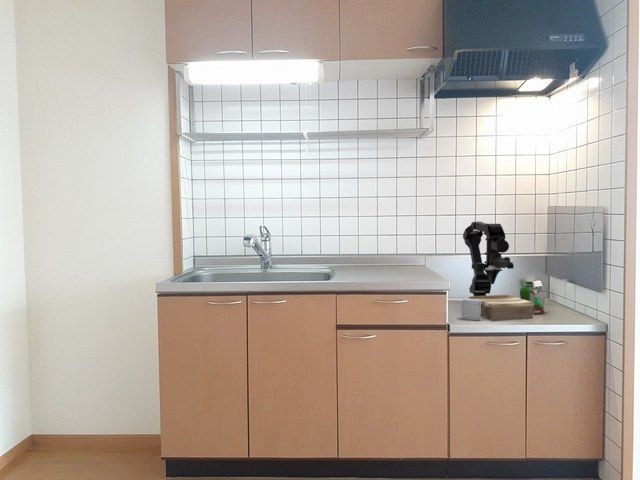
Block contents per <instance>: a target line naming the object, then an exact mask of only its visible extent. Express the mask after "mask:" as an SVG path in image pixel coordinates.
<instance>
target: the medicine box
mask: <svg viewBox="0 0 640 480" xmlns="http://www.w3.org/2000/svg"><path fill="white" fill-rule="evenodd" d="M481 318H482V316H481V300H480V299H469V298H462V300H461V320H462V321H463V320H464V321H466V320H467V321H481V320H482V319H481Z"/></svg>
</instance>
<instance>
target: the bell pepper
mask: <svg viewBox="0 0 640 480" xmlns="http://www.w3.org/2000/svg"><path fill="white" fill-rule="evenodd" d="M530 289H537V288H536V287H531V286H530V285H529V284H527V283H524V284H523V287H521V288H520V289H519V296H520V297H519V298H520V299H524V300H527V301H530Z"/></svg>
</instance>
